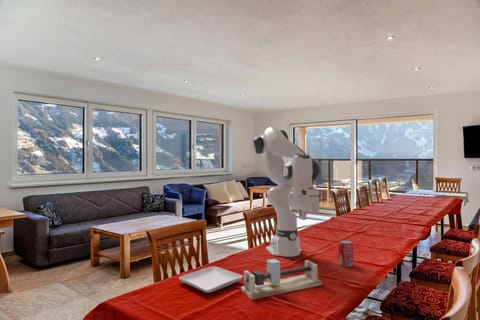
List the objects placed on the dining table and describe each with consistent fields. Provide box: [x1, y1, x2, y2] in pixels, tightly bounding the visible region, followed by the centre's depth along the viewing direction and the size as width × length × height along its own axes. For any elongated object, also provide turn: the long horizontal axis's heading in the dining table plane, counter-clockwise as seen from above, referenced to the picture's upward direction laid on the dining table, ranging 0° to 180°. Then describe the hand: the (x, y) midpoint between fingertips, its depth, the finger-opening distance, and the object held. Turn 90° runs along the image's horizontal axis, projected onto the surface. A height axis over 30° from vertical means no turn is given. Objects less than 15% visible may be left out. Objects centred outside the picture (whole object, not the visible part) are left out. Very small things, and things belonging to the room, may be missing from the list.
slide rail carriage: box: [266, 258, 281, 285], centre depth 137 cm, size 4×4×9 cm
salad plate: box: [178, 265, 244, 294], centre depth 145 cm, size 21×21×3 cm
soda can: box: [338, 239, 354, 268], centre depth 166 cm, size 7×7×12 cm
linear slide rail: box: [240, 259, 323, 301], centre depth 139 cm, size 10×34×8 cm, turn 114°
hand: (302, 219), depth 149 cm, fingers closed
